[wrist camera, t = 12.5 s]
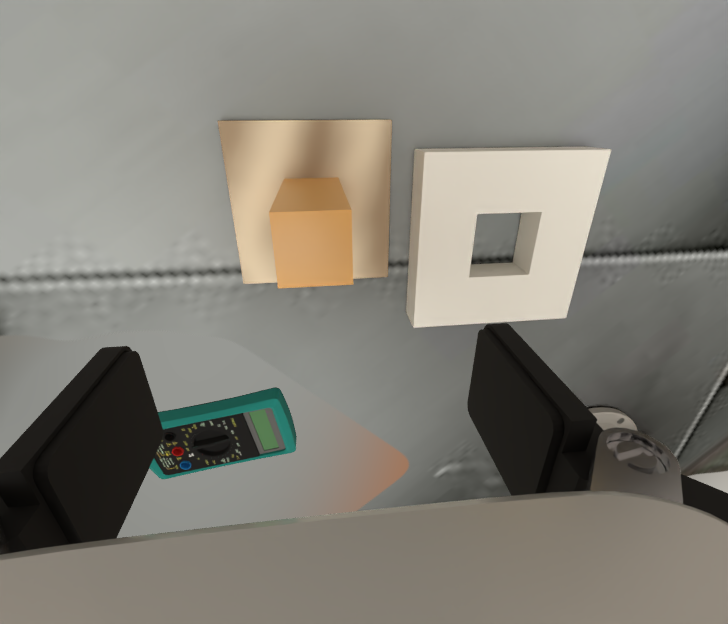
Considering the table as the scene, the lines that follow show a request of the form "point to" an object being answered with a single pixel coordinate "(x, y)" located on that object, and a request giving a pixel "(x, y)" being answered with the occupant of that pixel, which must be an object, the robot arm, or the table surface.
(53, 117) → the table surface
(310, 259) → the plug
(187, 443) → the digital multimeter
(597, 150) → the white square holed plate
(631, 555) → the robot arm
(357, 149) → the pad
